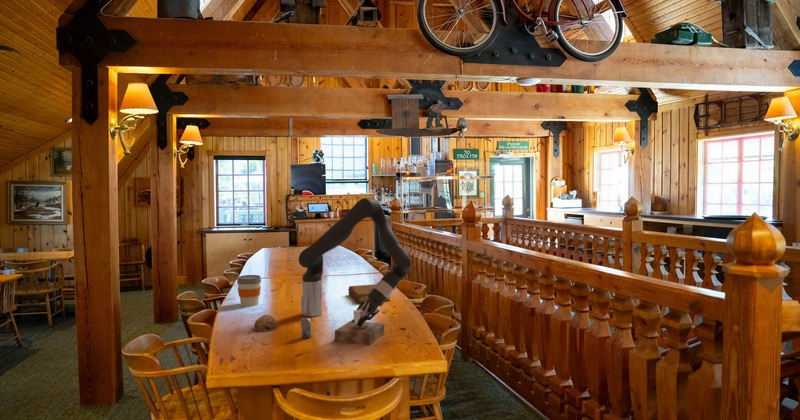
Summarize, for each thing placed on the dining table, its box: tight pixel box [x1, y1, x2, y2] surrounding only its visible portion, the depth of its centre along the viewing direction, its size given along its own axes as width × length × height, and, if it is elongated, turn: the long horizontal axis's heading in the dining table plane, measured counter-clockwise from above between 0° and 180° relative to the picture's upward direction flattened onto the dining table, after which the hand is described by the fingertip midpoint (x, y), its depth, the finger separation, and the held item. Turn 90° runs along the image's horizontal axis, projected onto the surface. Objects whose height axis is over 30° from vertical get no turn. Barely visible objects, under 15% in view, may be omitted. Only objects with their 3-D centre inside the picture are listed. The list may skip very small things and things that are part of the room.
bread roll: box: [254, 314, 278, 332], centre depth 237 cm, size 10×10×8 cm
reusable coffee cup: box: [236, 274, 262, 307], centre depth 281 cm, size 13×13×15 cm
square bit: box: [353, 309, 367, 330], centre depth 222 cm, size 4×4×10 cm
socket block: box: [334, 320, 385, 346], centre depth 222 cm, size 16×16×4 cm
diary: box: [348, 283, 392, 305], centre depth 295 cm, size 23×19×6 cm
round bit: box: [300, 317, 312, 340], centre depth 222 cm, size 4×4×8 cm
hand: (355, 324), depth 221 cm, fingers open, 4 cm apart
